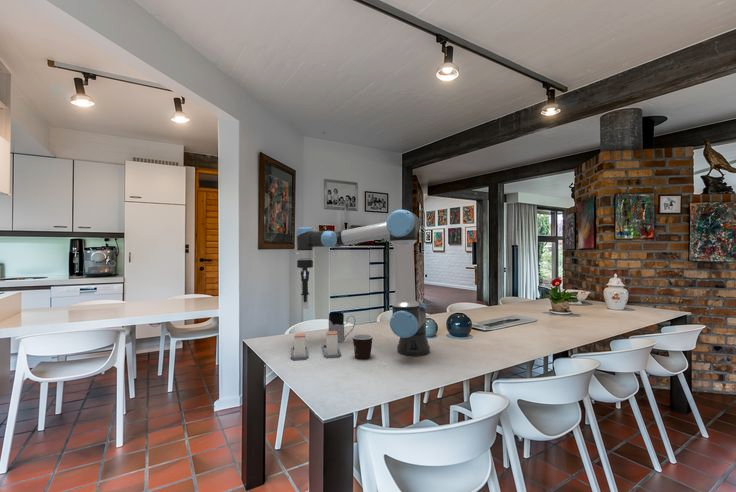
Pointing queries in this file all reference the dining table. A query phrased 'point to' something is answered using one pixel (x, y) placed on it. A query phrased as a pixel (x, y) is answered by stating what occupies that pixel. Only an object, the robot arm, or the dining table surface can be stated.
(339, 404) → the dining table surface
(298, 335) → the tab
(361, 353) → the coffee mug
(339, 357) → the grey double base frame
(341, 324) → the grey pitcher
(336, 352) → the tab
